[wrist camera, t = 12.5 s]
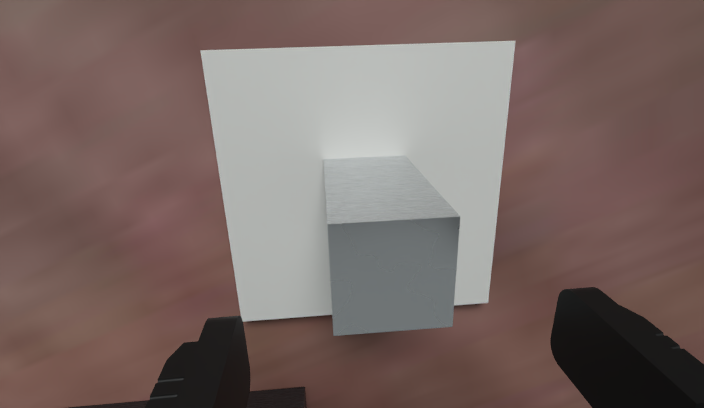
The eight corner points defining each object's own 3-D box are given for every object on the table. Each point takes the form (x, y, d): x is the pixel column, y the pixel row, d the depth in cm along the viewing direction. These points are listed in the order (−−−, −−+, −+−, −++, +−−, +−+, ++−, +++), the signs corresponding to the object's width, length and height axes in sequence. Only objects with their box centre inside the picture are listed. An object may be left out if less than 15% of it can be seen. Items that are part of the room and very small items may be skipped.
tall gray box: (327, 234, 21) (333, 335, 13) (323, 159, 19) (327, 224, 12) (403, 230, 21) (452, 326, 13) (405, 155, 19) (460, 216, 12)
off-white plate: (244, 310, 23) (241, 321, 22) (206, 50, 18) (200, 50, 17) (481, 293, 24) (487, 302, 23) (505, 41, 19) (515, 40, 18)
